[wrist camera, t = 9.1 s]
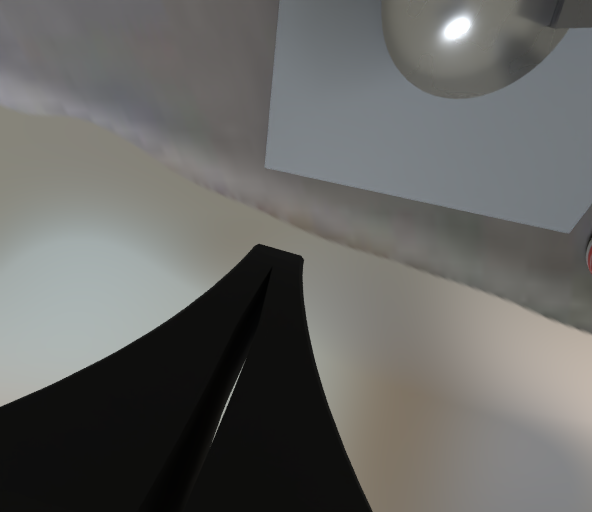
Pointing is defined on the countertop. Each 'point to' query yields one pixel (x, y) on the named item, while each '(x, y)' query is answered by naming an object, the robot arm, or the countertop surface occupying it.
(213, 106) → the countertop surface
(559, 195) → the board
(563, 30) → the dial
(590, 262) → the pill bottle
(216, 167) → the countertop surface
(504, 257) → the countertop surface
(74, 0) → the countertop surface
